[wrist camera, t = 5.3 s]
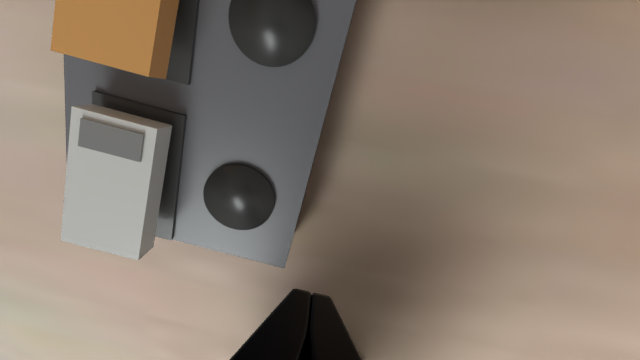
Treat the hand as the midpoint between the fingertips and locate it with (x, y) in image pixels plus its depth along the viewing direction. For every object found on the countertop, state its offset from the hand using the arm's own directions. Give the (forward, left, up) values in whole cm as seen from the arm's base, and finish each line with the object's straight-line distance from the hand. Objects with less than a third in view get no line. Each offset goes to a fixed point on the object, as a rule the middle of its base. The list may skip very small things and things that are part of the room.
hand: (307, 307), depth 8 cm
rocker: (-2, +8, -6) cm, 10 cm away
